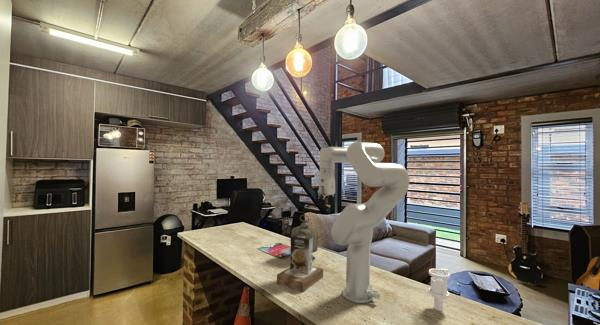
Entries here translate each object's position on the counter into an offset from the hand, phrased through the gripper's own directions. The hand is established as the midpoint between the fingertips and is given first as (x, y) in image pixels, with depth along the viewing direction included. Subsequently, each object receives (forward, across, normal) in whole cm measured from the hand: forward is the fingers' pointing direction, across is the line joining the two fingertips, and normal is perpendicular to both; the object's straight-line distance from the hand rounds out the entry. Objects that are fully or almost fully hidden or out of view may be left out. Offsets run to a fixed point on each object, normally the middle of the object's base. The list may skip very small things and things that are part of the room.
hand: (326, 206), depth 130 cm
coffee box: (+29, -15, +5) cm, 33 cm away
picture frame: (+33, -15, +5) cm, 37 cm away
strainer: (+33, -6, -51) cm, 61 cm away
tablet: (+34, +12, +37) cm, 52 cm away
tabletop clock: (+34, +9, +18) cm, 39 cm away
